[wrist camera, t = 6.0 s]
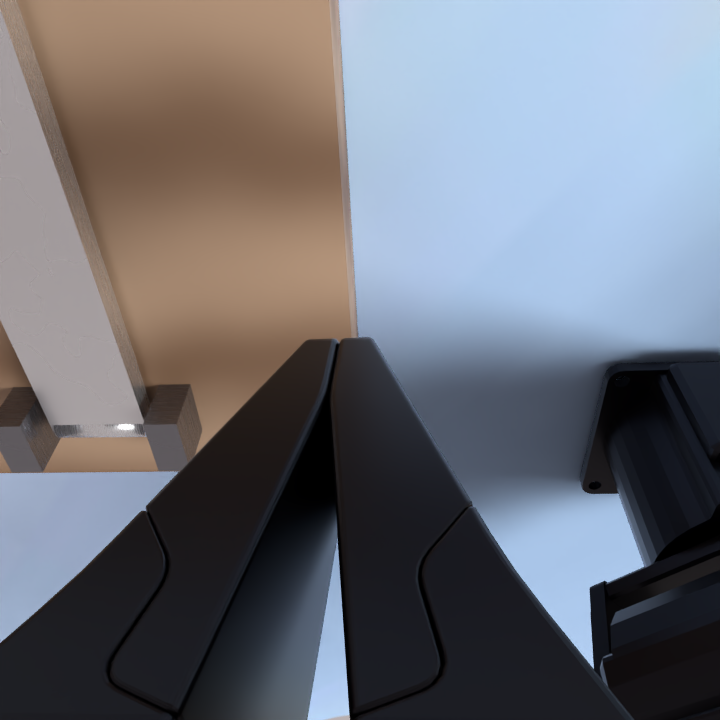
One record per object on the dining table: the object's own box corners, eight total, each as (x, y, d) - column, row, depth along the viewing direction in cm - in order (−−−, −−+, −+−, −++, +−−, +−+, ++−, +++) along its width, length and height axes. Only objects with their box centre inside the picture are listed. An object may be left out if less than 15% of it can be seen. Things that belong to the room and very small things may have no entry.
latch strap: (157, 422, 22) (149, 442, 21) (67, 423, 22) (56, 443, 21) (-4, -64, 13) (-26, -57, 12) (-149, -56, 13) (-179, -50, 13)
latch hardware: (202, 430, 22) (190, 470, 21) (35, 432, 22) (11, 472, 21) (30, -214, 12) (-17, -220, 11) (-270, -195, 12) (-356, -199, 11)
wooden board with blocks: (362, 410, 25) (360, 469, 23) (-44, 416, 26) (-86, 473, 24) (309, -505, 12) (289, -590, 9) (-536, -435, 13) (-746, -497, 10)
